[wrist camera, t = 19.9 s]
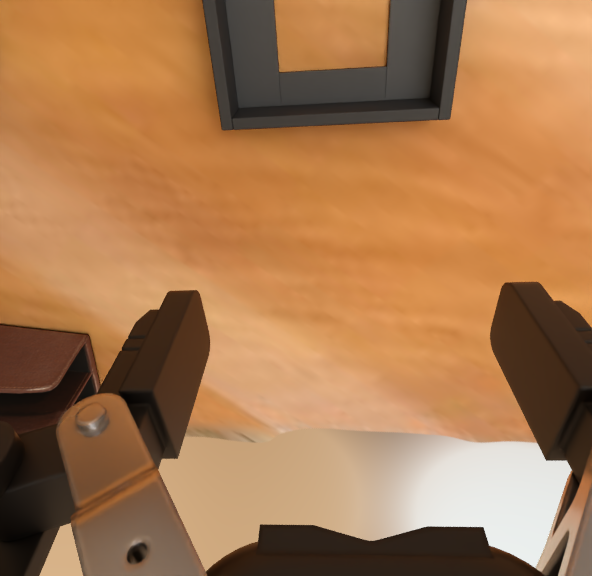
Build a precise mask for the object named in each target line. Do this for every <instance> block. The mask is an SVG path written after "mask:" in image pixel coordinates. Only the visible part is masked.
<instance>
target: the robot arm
mask: <svg viewBox="0 0 592 576" xmlns="http://www.w3.org/2000/svg"><path fill="white" fill-rule="evenodd" d="M490 340H491V346H492V350H493V353H494V355H495V357H496V359H497V361H498V363H499V365H500V367H501V369H502V371H503V373H504V375H505V377H506V379H507V381H508V383H509V385H510V387H511V389H512V392H513V394H514V396H515V398H516V400H517V402H518V404H519V406H520V408H521V410H522V412H523V414H524V416H525V418H526V420H527V422H528V424H529V426H530V428H531V430H532V432H533V435H534V437H535V439H536V441H537V443H538V445H539V447H540V449H541V450H542V453H543V455H544V457H545V459H546V460H567V461H568V463H569V465H570V467H571V469H572V471H571V473H570V475H569V477H568V479H567V482H566V485H565V488H564V491H563V494H562V497H561V500H560V503H559V506H558V509H557V513H556V516H555V519H554V521H553V524H552V527H551V530H550V534H549V537H548V539H547V542H546V545H545V548H544V550H543V553H542V555H541V557H540V560H539V562H538V564H537V567H536V568H534V567H532V566H531V565H529V564H528V563H526V562H525V561H523V560H521V559H519V558H517V557H515V556H514V555H512V554H510V553H507V552H504V551H502V550H500V549H497V548H495V547H491V546H489V544H488V541H487V538H486V534H485V531H484V528H483V527H424V528H421V529H417V530H413V531H409V532H406V533H402V534H399V535H395V536H391V537H387V538H384V539H380V540H376V541H367V540H362V539H359V538H356V537H352V536H349V535H345V534H342V533H338V532H335V531H331V530H328V529H324V528H321V527H318V526H314V525H260V531H259V540H258V542H255V543H251V544H249V545H246V546H244V547H242V548H239V549H237V550H235V551H233V552H232V553H230V554H228V555H226V556H225V557H223V558H222V559H221V560H219V561H218V562H217V563H215V564H214V565H213V566H212V567H210V568H209V569H208V570H207V571H206V572H205V569H204V567H203V565H202V563H201V561H200V559H199V557H198V555H197V552H196V550H195V548H194V546H193V544H192V542H191V539H190V537H189V535H188V533H187V531H186V529H185V527H184V524H183V522H182V520H181V518H180V516H179V514H178V512H177V509H176V507H175V505H174V503H173V501H172V499H171V497H170V495H169V493H168V490H167V488H166V486H165V484H164V482H163V480H162V478H161V475H160V473H159V471H158V468H159V465H160V462H161V459H163V458H165V459H170V458H174V459H175V458H176V459H177V458H178V456H179V453H180V449H181V446H182V442H183V439H184V436H185V433H186V429H187V426H188V423H189V419H190V416H191V413H192V409H193V406H194V403H195V399H196V396H197V393H198V389H199V386H200V383H201V379H202V376H203V373H204V369H205V366H206V363H207V360H208V356H209V351H210V336H209V331H208V326H207V322H206V318H205V313H204V309H203V305H202V301H201V297H200V294H199V292H198V291H197V290H190V291H169V292H168V293H167V295H166V297H165V299H164V301H163V303H162V305H161V307H160V309H159V310H150V311H148V312H147V313H146V314H145V315H144V316H143V317H141V318H140V319H139V320H138V321H137V322H136V323H135V325H134V327H133V329H132V330H131V332H130V334H129V336H128V339H127V340H126V341H125V343H124V345H123V347H122V351H120V352H119V354H118V356H117V358H116V359H115V361H114V363H113V365H112V367H111V369H110V370H109V372H108V374H107V376H106V378H105V379H104V381H103V383H102V385H101V387H100V388H99V390H98V392H97V394H96V395H92V396H89V397H87V398H85V399H83V400H81V401H79V402H77V403H76V404H74V405H73V406H72V407H71V408H69V409H68V410H67V411H66V412H65V414H64V415H63V416H62V417H61V419H60V421H59V423H57V424H54V425H51V426H47V427H43V428H40V429H36V430H32V431H29V432H25V433H21V434H18V435H17V433H16V432H15V430H14V429H13V427H12V426H11V425H10V424H9V423H7V422H4V421H0V576H39V575H40V573H41V570H42V568H43V565H44V563H45V561H46V558H47V556H48V553H49V551H50V549H51V547H52V544H53V542H54V540H55V537H56V535H57V532H58V530H59V528H60V526H63V525H66V524H69V523H71V527H72V531H73V535H74V539H75V544H76V548H77V552H78V556H79V560H80V564H81V568H82V572H83V576H592V328H591V327H590V325H589V324H588V323H587V322H586V321H585V319H584V318H583V317H582V316H581V314H580V313H578V312H577V311H575V310H574V309H572V308H571V307H569V306H568V305H566V304H565V303H563V302H562V301H553V299H552V298H551V297H550V296H549V294H548V293H547V292H546V290H545V289H544V288H543V286H542V285H541V284H540V283H538V282H512V283H505V284H504V285H503V286H502V288H501V291H500V295H499V299H498V303H497V307H496V311H495V315H494V318H493V322H492V326H491V332H490Z"/></svg>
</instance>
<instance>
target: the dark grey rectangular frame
mask: <svg viewBox="0 0 592 576" xmlns="http://www.w3.org/2000/svg"><path fill="white" fill-rule="evenodd" d="M202 2H203V8H204V15H205V22H206V28H207V35H208V41H209V48H210V55H211V61H212V68H213V74H214V81H215V87H216V94H217V101H218V107H219V114H220V120H221V127H222V130H233V129H234V130H241V129H262V128H282V127H303V126H323V125H344V124H364V123H385V122H405V121H426V120H448V119H450V117H451V110H452V103H453V95H454V88H455V81H456V74H457V67H458V60H459V53H460V46H461V39H462V32H463V25H464V18H465V10H466V3H467V0H390V12H389V30H388V48H387V66H382V67H364V68H347V69H330V70H313V71H295V72H279V64H278V51H277V37H276V23H275V9H274V0H202Z"/></svg>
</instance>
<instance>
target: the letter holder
mask: <svg viewBox="0 0 592 576" xmlns="http://www.w3.org/2000/svg"><path fill="white" fill-rule="evenodd" d="M99 388H100V383H99V378H98V374H97V369H96V365H95V360H94V356H93V352H92V347H91V343H90V338H89V336H88V335H85V334H75V333H66V332H57V331H48V330H40V329H31V328H22V327H14V326H5V325H0V421H4V422H7V423H9V424H10V425H11V426H12V427H13V429H14V430H15V432H16V433H17V435H18V434H21V433H25V432H29V431H32V430H36V429H40V428H43V427H47V426H51V425H54V424H57V423H59V421H60V419H61V417H62V416H63V415H64V414H65V412H66V411H67V410H68V409H69V408H71V407H72V406H73V405H74V404H76V403H77V402H79V401H81V400H83V399H85V398H87V397H89V396H92V395H96V394H97V392H98V390H99Z"/></svg>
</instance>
